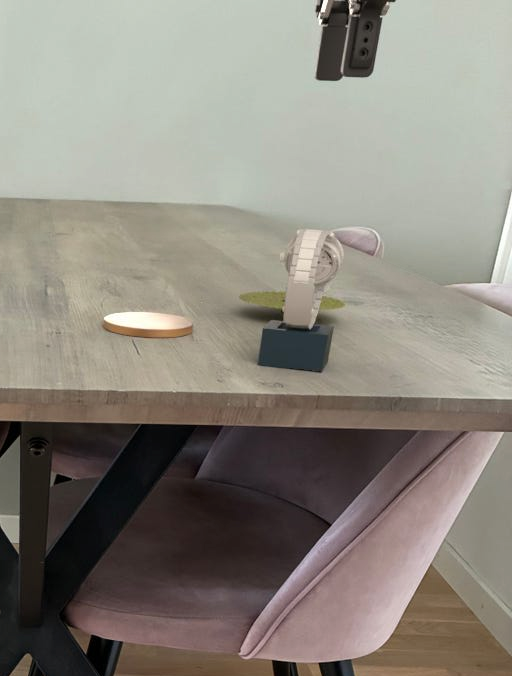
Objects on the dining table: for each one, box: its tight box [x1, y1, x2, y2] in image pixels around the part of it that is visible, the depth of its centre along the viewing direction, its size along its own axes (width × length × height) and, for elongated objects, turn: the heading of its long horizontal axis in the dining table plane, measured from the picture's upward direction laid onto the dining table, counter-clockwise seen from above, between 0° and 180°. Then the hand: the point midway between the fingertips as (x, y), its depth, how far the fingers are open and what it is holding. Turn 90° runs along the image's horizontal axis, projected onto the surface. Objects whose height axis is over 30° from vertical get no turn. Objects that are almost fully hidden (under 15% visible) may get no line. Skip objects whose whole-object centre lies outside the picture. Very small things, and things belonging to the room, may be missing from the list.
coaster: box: [102, 311, 194, 339], centre depth 96 cm, size 9×9×1 cm
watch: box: [257, 228, 345, 373], centre depth 82 cm, size 6×8×11 cm
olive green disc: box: [238, 290, 346, 315], centre depth 103 cm, size 11×11×2 cm
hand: (341, 79), depth 74 cm, fingers open, 8 cm apart
